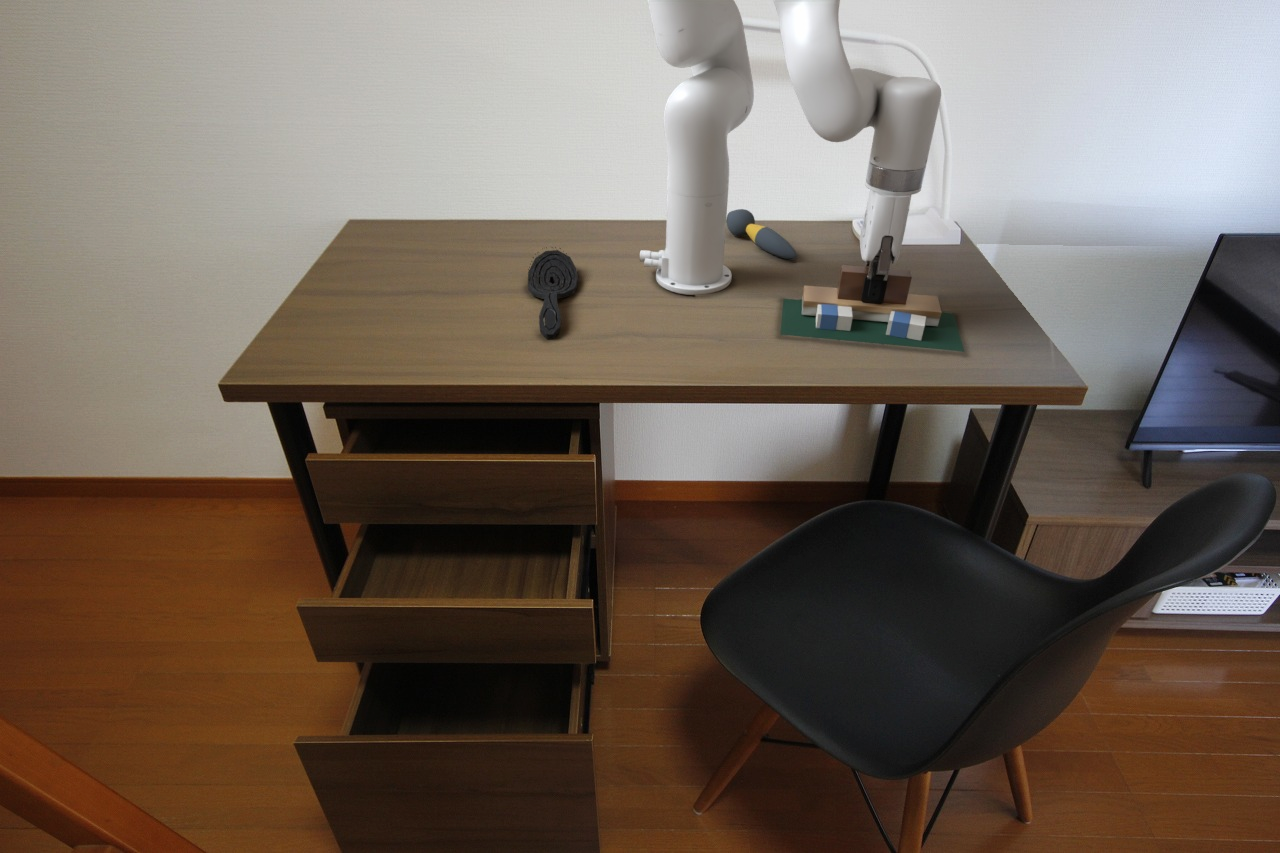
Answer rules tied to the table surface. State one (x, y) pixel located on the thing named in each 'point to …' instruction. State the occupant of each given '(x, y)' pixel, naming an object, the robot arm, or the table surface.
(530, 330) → the table surface
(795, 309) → the desk mat
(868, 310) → the scrub brush
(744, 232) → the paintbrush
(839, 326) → the eraser left
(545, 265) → the hairbrush
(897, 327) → the eraser right
